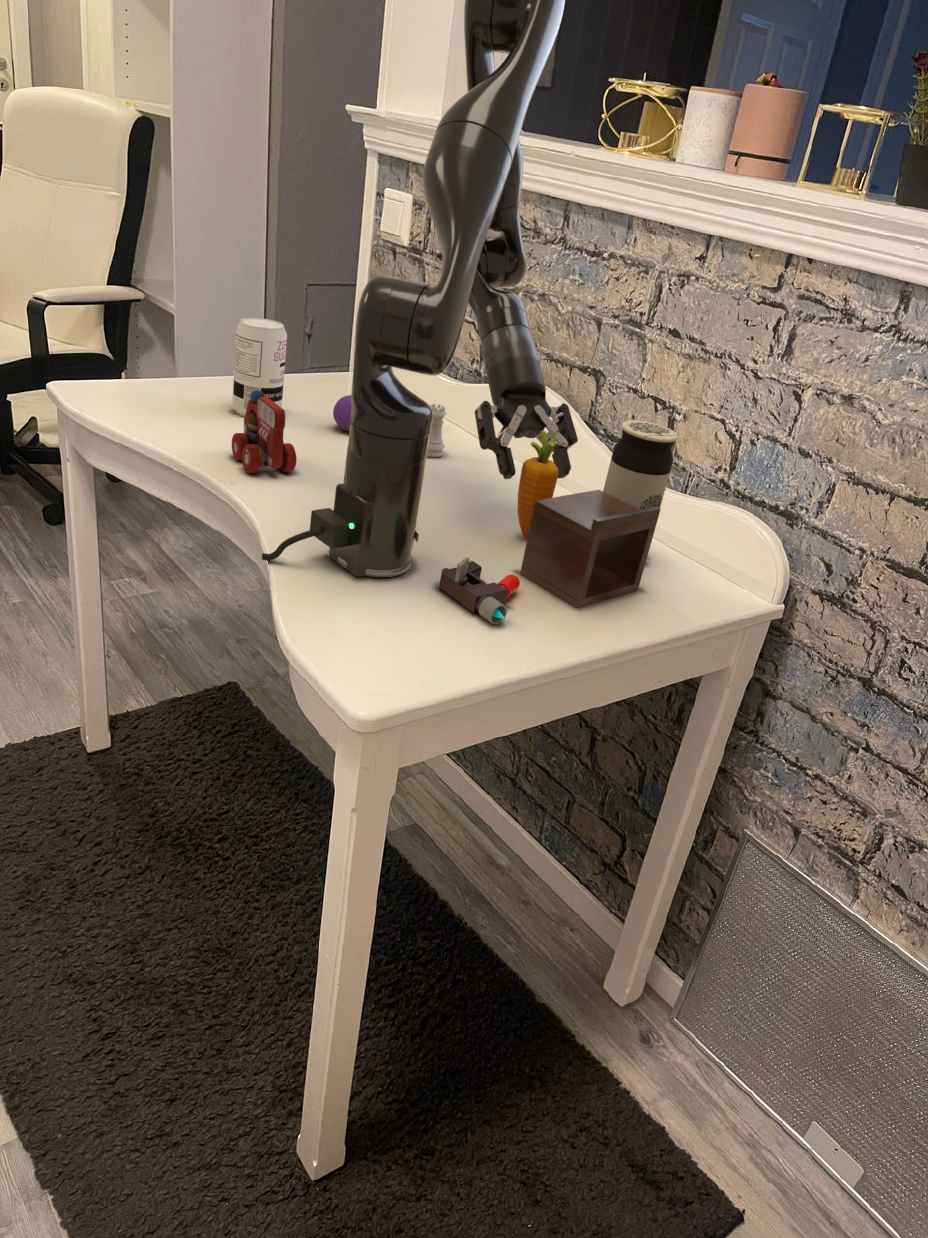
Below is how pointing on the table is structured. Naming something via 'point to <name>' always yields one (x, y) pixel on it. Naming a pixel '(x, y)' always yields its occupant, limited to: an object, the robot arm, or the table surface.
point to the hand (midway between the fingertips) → (537, 476)
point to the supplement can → (258, 361)
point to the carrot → (536, 481)
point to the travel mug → (641, 464)
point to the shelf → (588, 546)
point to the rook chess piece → (436, 432)
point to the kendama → (343, 412)
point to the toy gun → (478, 590)
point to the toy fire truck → (263, 437)
